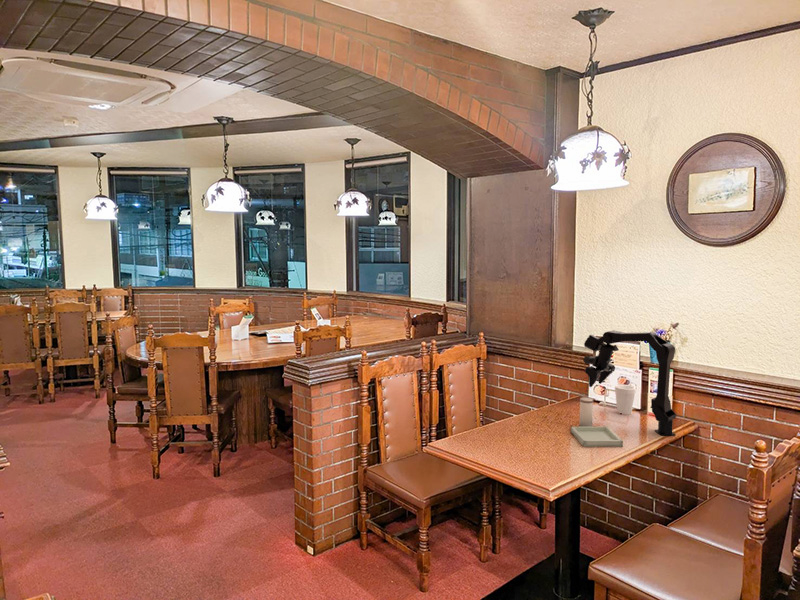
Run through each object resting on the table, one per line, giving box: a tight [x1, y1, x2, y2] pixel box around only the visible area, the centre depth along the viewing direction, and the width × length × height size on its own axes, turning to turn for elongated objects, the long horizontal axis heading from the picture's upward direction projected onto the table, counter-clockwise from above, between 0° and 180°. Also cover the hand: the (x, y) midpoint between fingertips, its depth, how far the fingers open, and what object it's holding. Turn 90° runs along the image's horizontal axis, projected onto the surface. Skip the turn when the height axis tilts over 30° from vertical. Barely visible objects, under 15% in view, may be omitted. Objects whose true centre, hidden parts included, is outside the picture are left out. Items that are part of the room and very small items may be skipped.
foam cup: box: [614, 384, 637, 415], centre depth 276 cm, size 10×9×13 cm
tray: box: [570, 426, 624, 448], centre depth 240 cm, size 18×16×2 cm
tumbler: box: [578, 396, 594, 427], centre depth 255 cm, size 6×6×13 cm
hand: (595, 385), depth 270 cm, fingers open, 9 cm apart
